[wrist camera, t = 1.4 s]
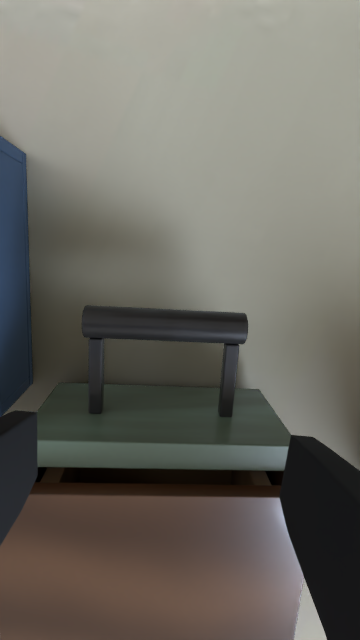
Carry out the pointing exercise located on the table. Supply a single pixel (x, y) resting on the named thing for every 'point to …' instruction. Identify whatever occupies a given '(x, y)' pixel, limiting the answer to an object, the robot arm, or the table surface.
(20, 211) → the tray
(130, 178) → the table surface
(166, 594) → the cabinet
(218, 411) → the drawer
